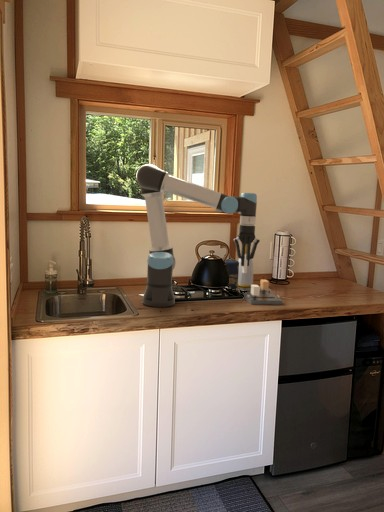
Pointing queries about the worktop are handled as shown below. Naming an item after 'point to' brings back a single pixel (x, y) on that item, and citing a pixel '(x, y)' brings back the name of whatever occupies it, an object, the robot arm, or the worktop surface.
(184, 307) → the worktop surface
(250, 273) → the soap bottle
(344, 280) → the worktop surface
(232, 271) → the canister
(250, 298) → the console
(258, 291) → the block
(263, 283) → the block
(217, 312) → the worktop surface
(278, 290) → the worktop surface
